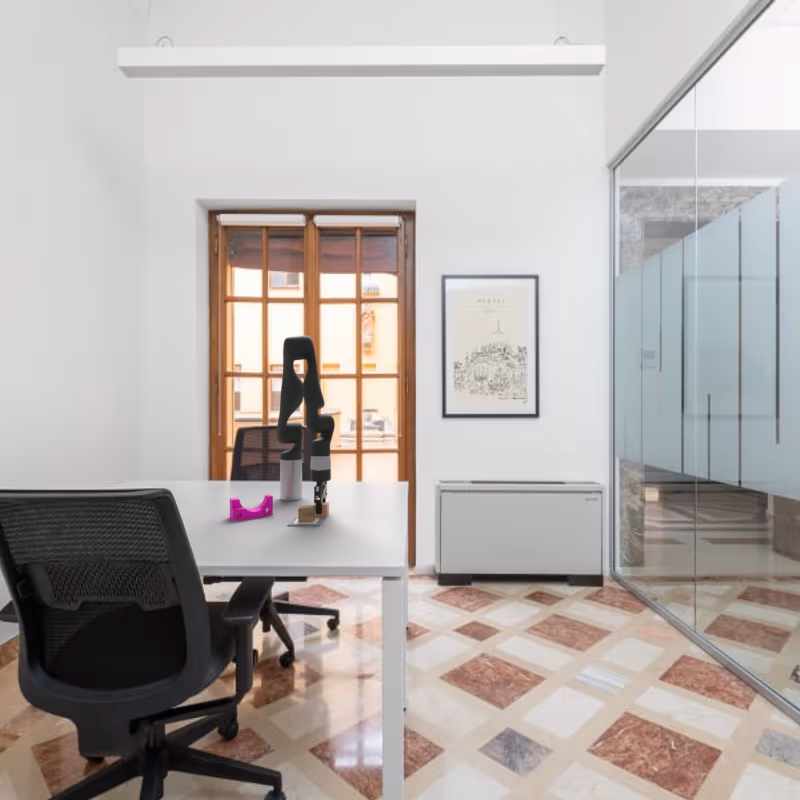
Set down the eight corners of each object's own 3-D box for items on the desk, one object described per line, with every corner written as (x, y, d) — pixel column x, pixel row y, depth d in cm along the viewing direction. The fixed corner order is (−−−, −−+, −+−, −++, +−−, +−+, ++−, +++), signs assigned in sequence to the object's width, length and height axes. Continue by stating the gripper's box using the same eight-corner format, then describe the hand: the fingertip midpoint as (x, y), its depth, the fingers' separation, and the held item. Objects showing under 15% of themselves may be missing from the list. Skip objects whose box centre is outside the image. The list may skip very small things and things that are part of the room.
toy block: (233, 522, 190) (233, 501, 190) (229, 518, 196) (229, 498, 196) (274, 517, 198) (274, 497, 197) (270, 514, 203) (270, 494, 203)
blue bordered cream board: (294, 519, 194) (294, 516, 194) (324, 519, 193) (324, 517, 193) (287, 527, 183) (287, 524, 183) (319, 527, 182) (319, 524, 182)
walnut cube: (301, 518, 191) (301, 505, 190) (314, 519, 190) (314, 505, 190) (298, 522, 186) (298, 508, 185) (312, 522, 185) (312, 508, 185)
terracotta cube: (315, 515, 200) (315, 502, 200) (328, 515, 200) (328, 502, 200) (313, 518, 195) (313, 505, 195) (326, 518, 195) (326, 505, 195)
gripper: (314, 465, 205) (314, 507, 205) (306, 470, 190) (307, 515, 191) (333, 465, 204) (333, 507, 205) (327, 470, 190) (327, 515, 190)
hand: (320, 511), depth 198 cm, fingers open, 8 cm apart
